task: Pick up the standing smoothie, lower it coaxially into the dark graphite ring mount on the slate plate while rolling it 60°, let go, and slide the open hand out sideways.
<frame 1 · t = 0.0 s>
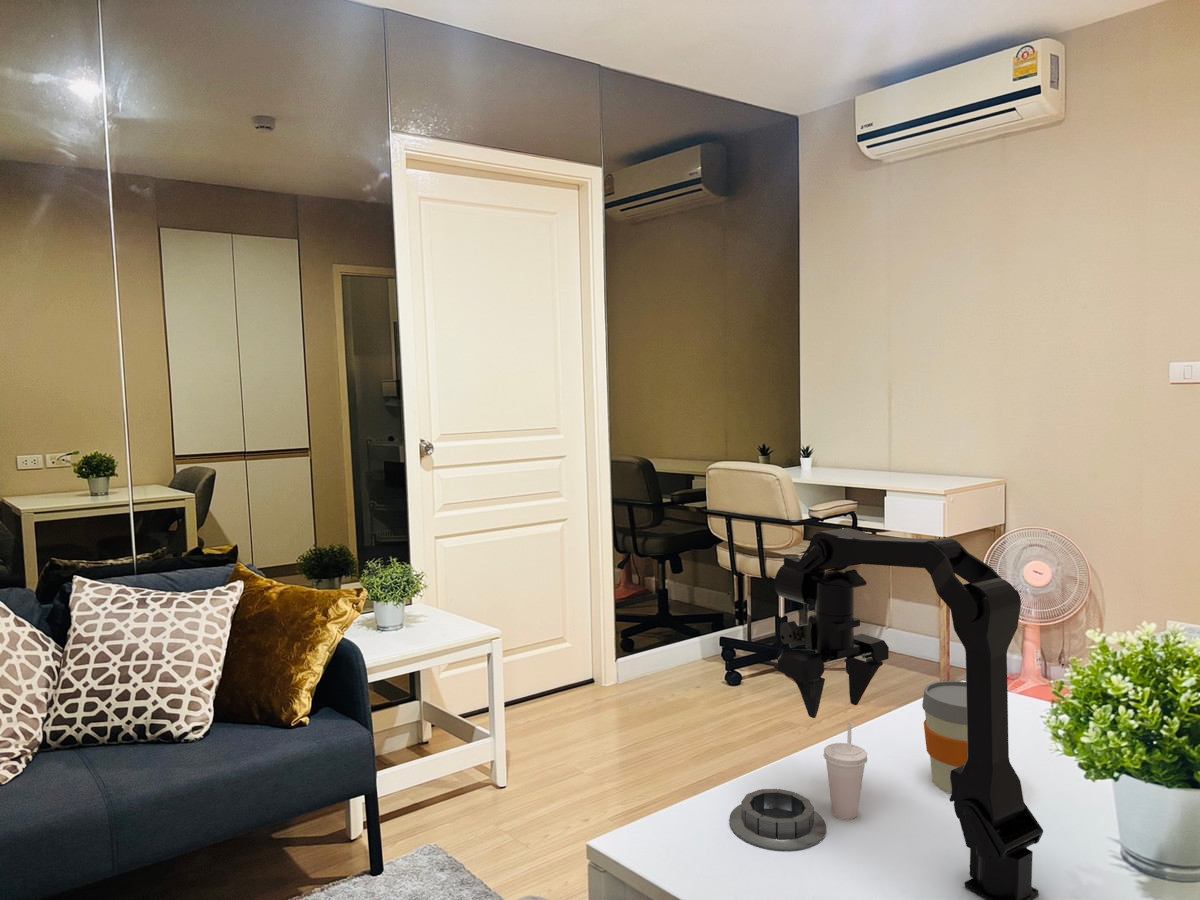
hand: (833, 710, 135), 15 cm above the table, fingers open, 9 cm apart
mount: (777, 825, 129), on the table
smoothie: (844, 814, 132), on the table
reusable coffee cup: (962, 785, 141), on the table
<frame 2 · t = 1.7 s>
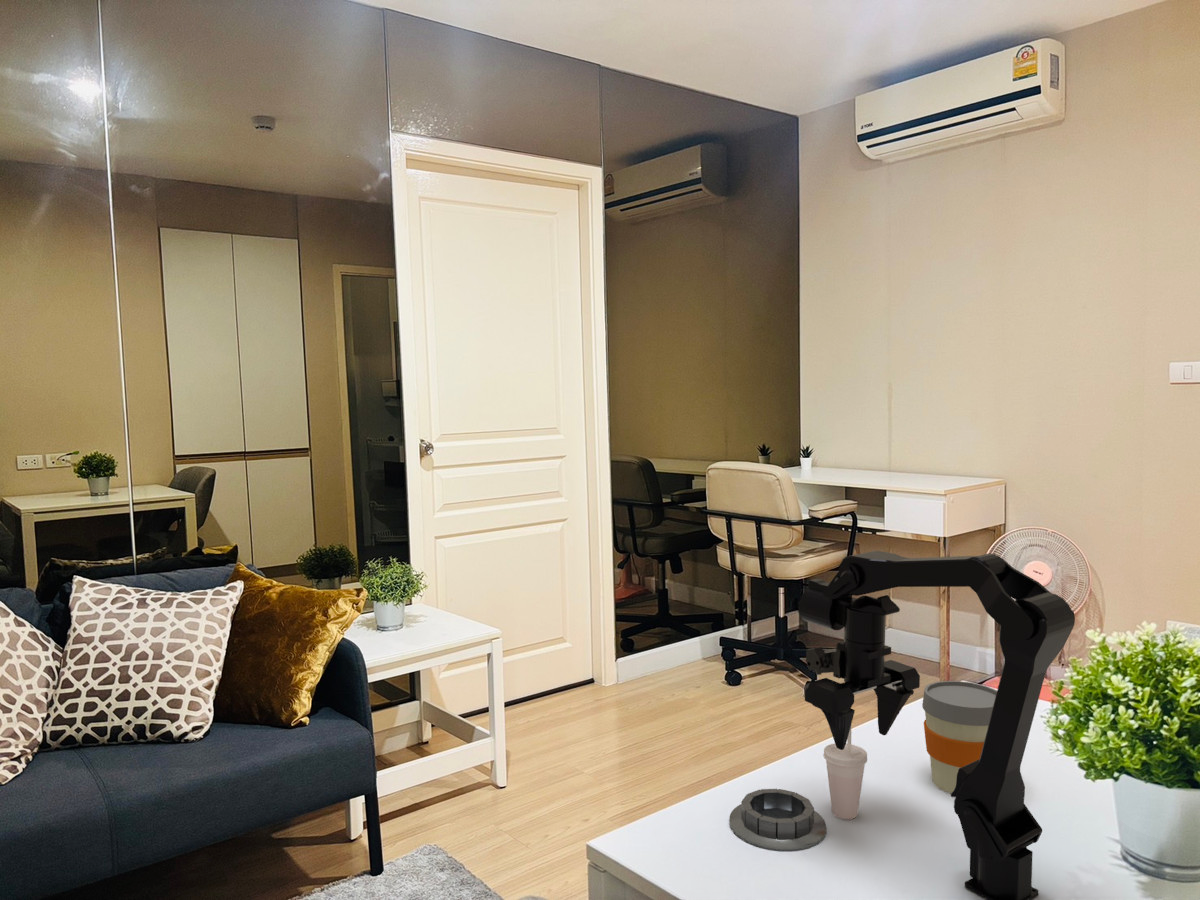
hand: (861, 741, 129), 12 cm above the table, fingers open, 9 cm apart
nothing on the table moved.
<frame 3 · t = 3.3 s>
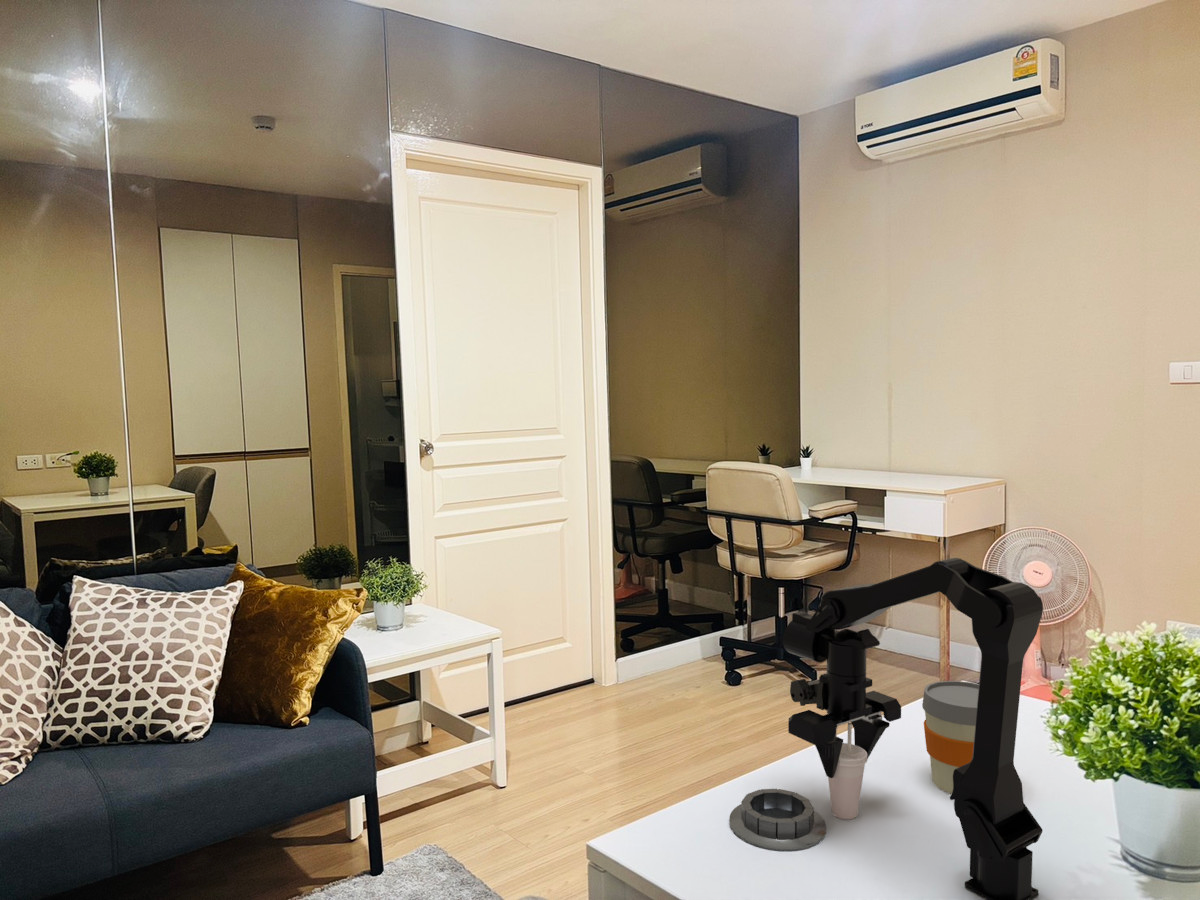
hand: (845, 771, 132), 7 cm above the table, fingers closed on smoothie, 6 cm apart
smoothie: (844, 814, 132), on the table, touching gripper
everything else where it was.
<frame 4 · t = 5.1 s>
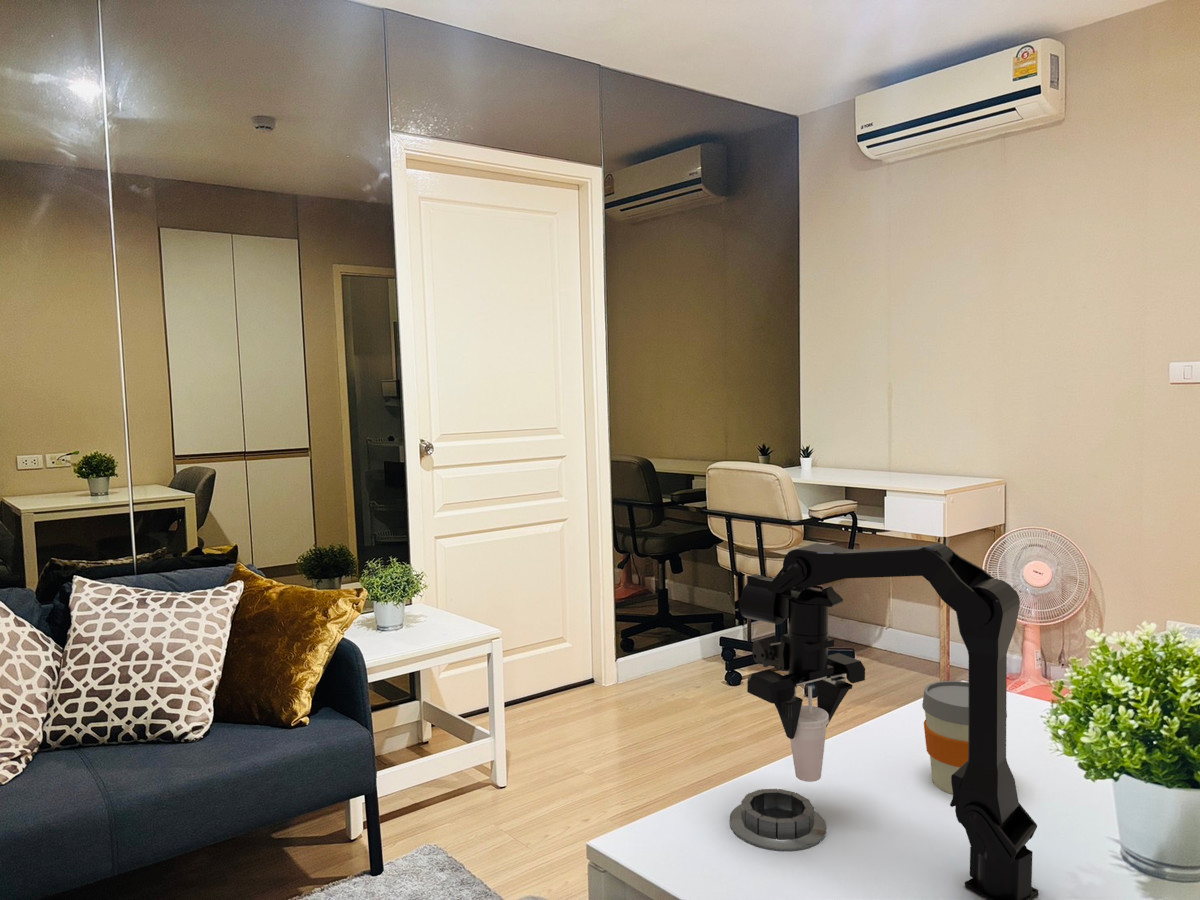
hand: (806, 733, 130), 13 cm above the table, fingers closed on smoothie, 6 cm apart
smoothie: (808, 776, 131), point 6 cm above the table, touching gripper
everything else where it was.
when the fingers open (8 cm above the table, at t = 6.9 s): smoothie stays where it is, resting on mount.
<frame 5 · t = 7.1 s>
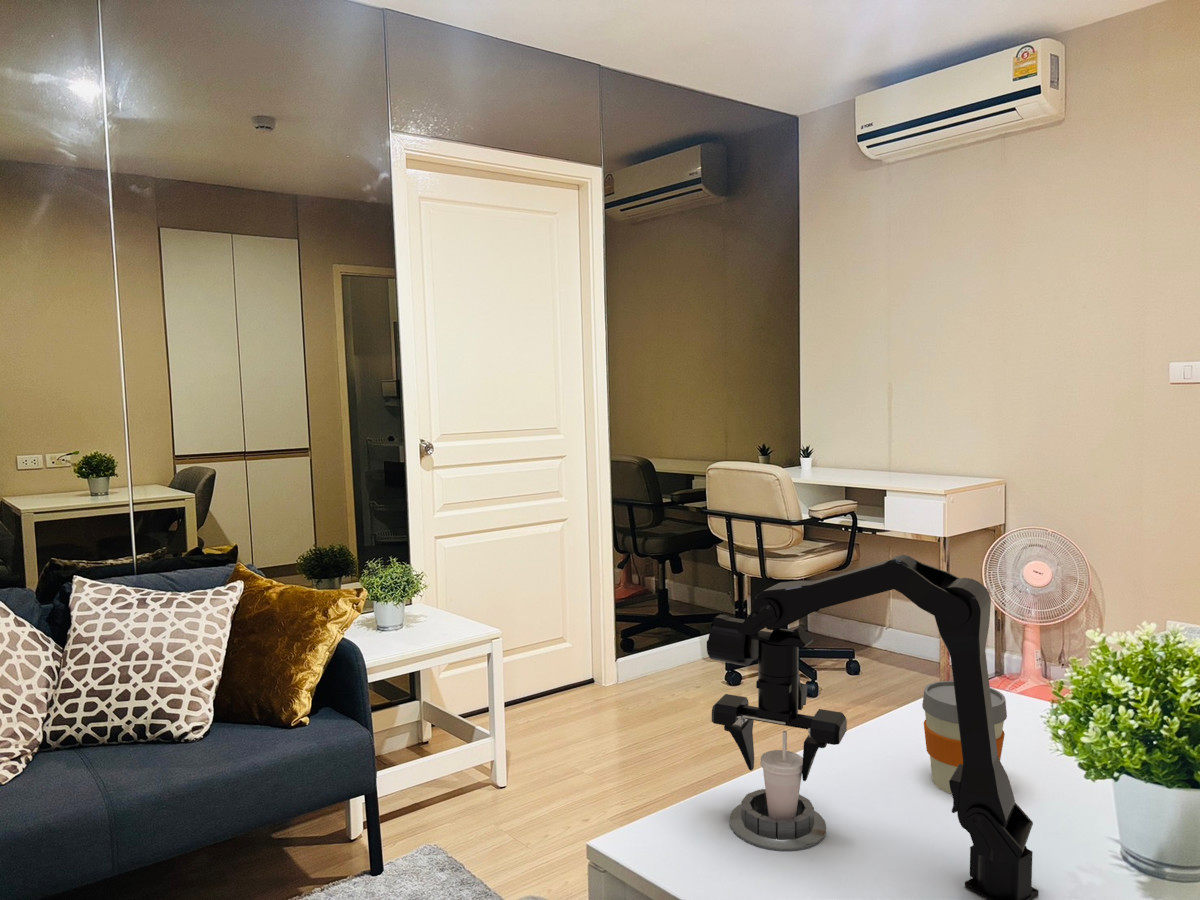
hand: (777, 774, 128), 8 cm above the table, fingers open, 8 cm apart
smoothie: (781, 823, 129), resting on mount
everything else where it was.
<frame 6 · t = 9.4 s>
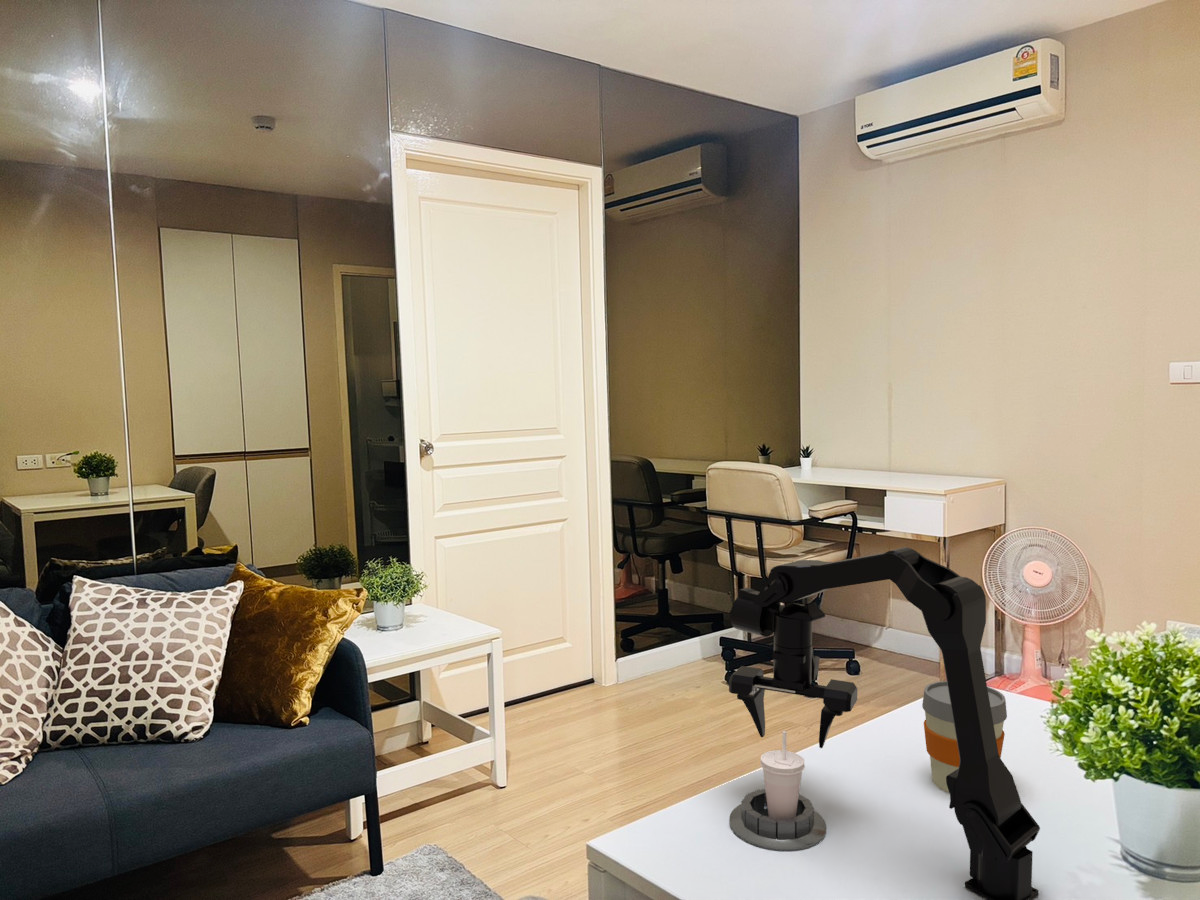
hand: (791, 741, 135), 10 cm above the table, fingers open, 9 cm apart
nothing on the table moved.
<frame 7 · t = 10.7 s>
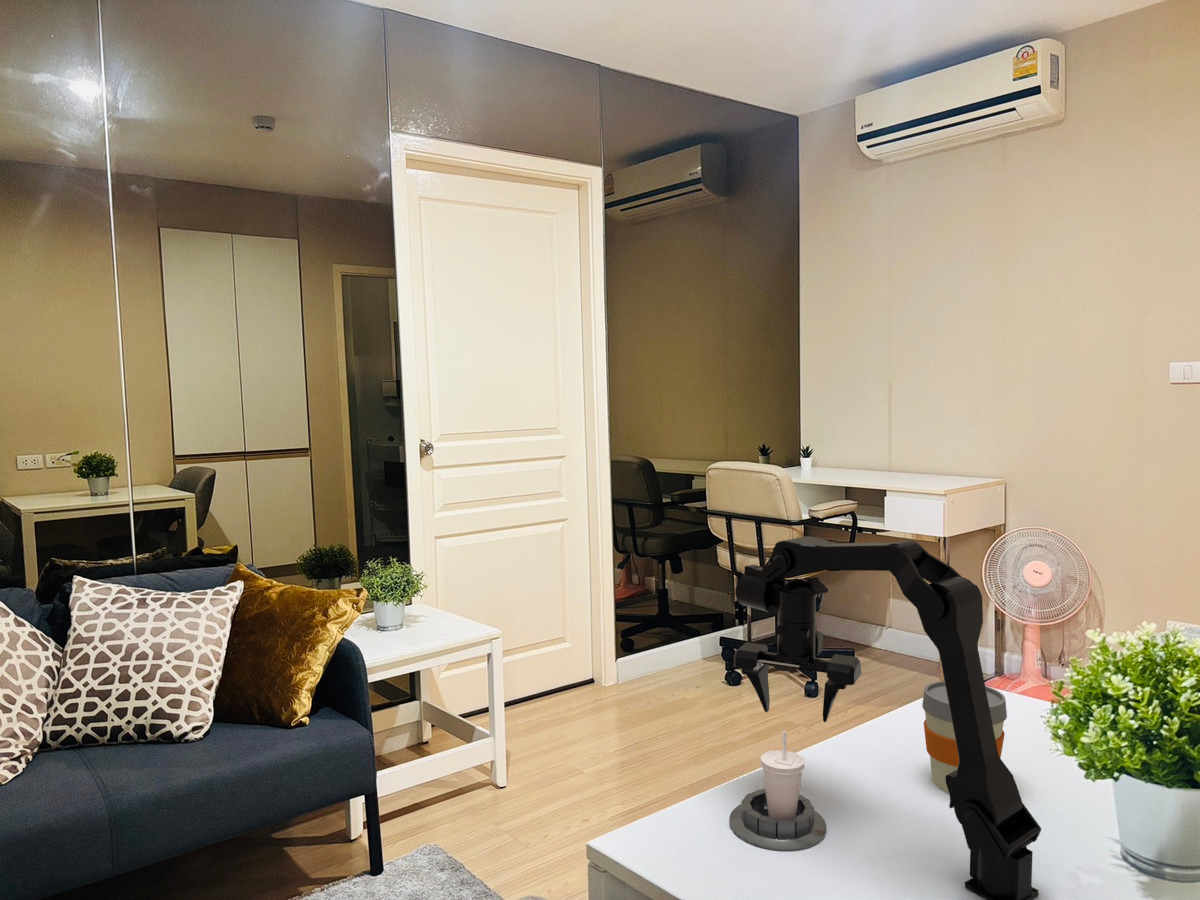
hand: (795, 716, 137), 13 cm above the table, fingers open, 9 cm apart
nothing on the table moved.
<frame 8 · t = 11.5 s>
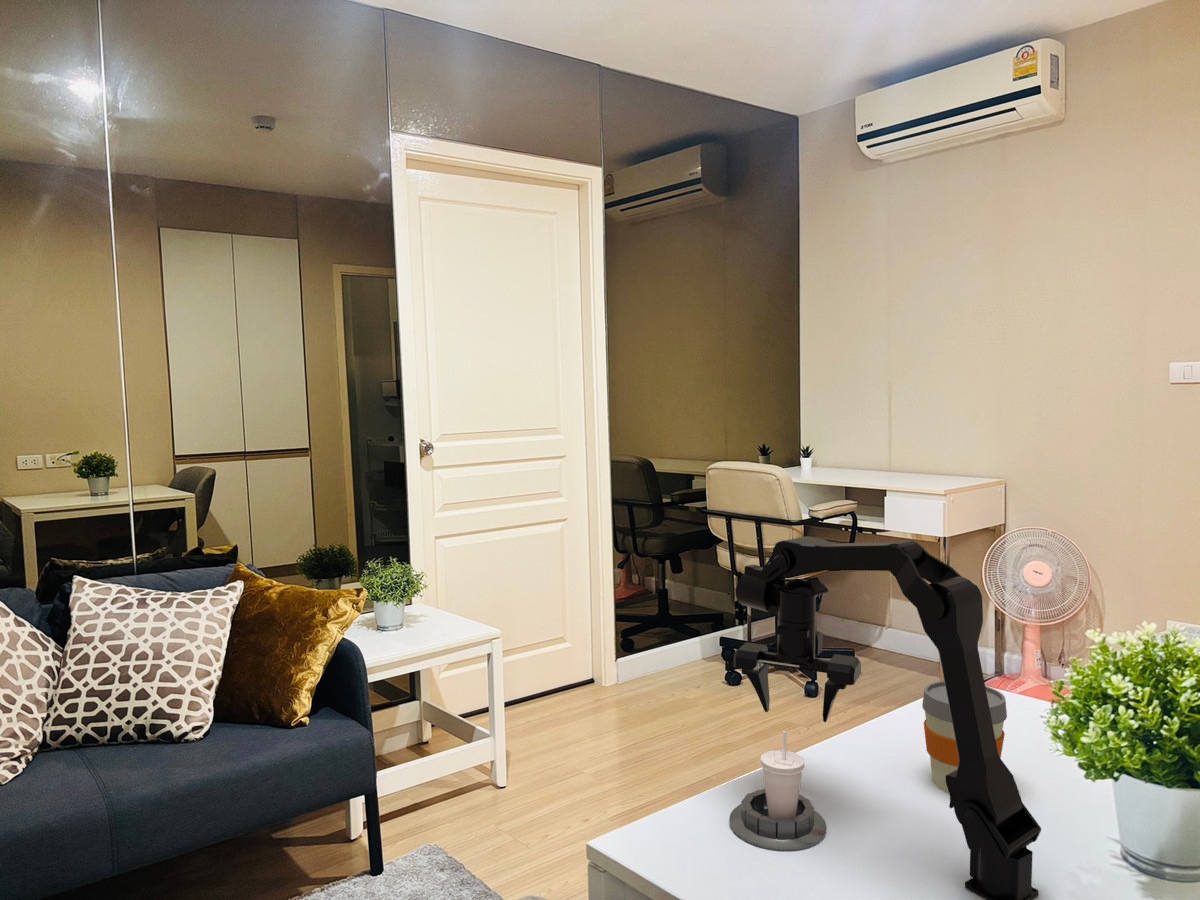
hand: (795, 716, 137), 13 cm above the table, fingers open, 9 cm apart
nothing on the table moved.
at the end: smoothie 0.7 cm off-centre on the mount, point 0.4 cm above the mount's base; smoothie tilted 0°; the gripper is holding nothing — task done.
